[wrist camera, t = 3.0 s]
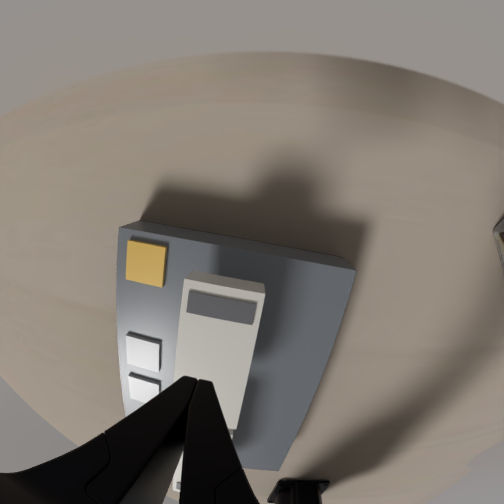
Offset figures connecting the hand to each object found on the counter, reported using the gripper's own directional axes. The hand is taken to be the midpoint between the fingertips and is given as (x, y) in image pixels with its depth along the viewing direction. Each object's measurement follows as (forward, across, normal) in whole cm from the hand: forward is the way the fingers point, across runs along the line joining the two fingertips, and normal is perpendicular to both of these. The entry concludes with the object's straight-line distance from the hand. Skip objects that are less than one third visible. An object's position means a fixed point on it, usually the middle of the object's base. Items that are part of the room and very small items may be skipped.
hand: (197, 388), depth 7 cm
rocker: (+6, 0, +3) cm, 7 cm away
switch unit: (+12, 0, +8) cm, 14 cm away
